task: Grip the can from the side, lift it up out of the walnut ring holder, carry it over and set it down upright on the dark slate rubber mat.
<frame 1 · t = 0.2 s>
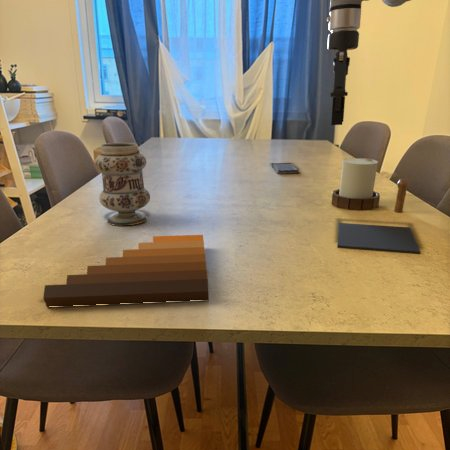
hand: (337, 123, 116), 20 cm above the table, tool pointing down, fingers open, 13 cm apart
pan flute: (136, 275, 78), on the table
mat: (375, 238, 94), on the table
apothecary jar: (127, 221, 107), on the table
can: (354, 204, 119), resting in holder
phone: (284, 170, 164), on the table
holder: (354, 204, 119), on the table
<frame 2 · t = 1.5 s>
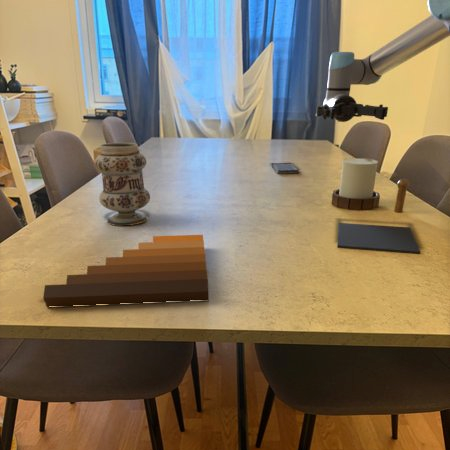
hand: (358, 114, 117), 22 cm above the table, tool horizontal, fingers open, 13 cm apart
nothing on the table moved.
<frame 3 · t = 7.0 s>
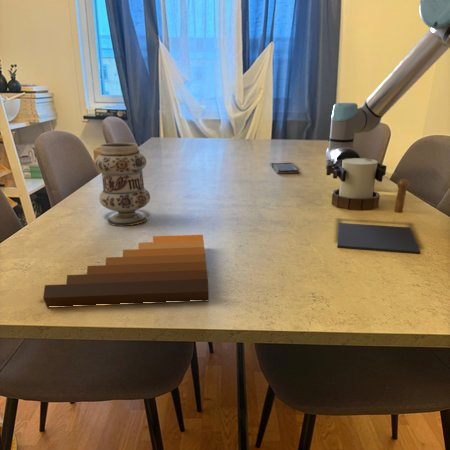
hand: (362, 176, 111), 9 cm above the table, tool horizontal, fingers closed on can, 9 cm apart
can: (354, 204, 119), resting in holder, touching gripper
everything else where it was.
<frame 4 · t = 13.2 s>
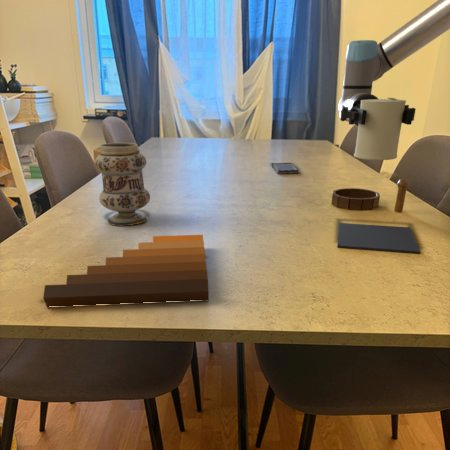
hand: (387, 117, 89), 24 cm above the table, tool horizontal, fingers closed on can, 9 cm apart
can: (374, 157, 97), point 15 cm above the table, touching gripper
everything else where it was.
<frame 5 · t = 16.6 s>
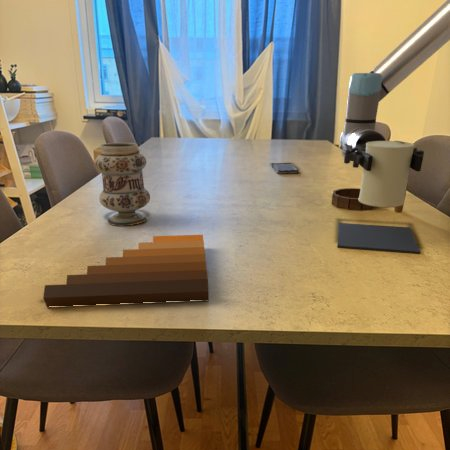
hand: (394, 163, 83), 17 cm above the table, tool horizontal, fingers closed on can, 9 cm apart
can: (380, 202, 91), point 8 cm above the table, touching gripper
everything else where it was.
when the fingers open (9 cm above the table, at t = 19.2 s): can stays where it is, resting on mat.
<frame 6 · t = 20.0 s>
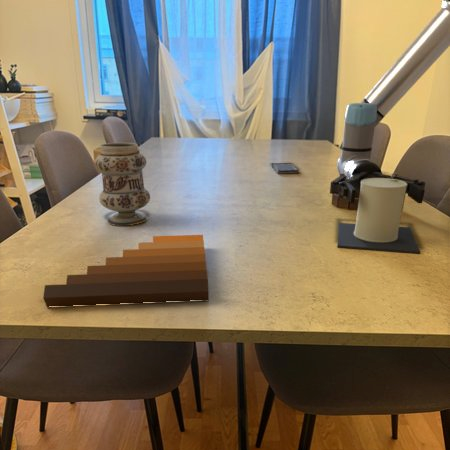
hand: (387, 196, 87), 10 cm above the table, tool horizontal, fingers open, 13 cm apart
can: (375, 236, 94), resting on mat
everything else where it was.
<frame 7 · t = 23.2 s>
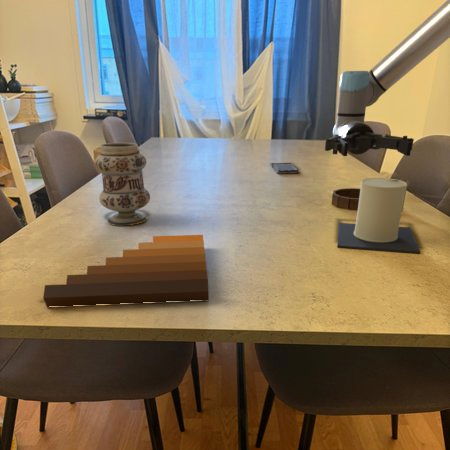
hand: (377, 149, 94), 17 cm above the table, tool horizontal, fingers open, 13 cm apart
nothing on the table moved.
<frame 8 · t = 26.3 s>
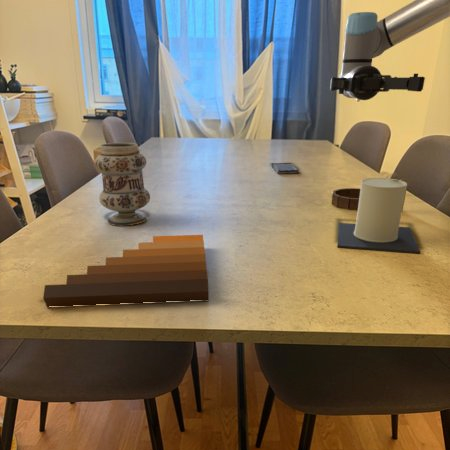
hand: (387, 84, 88), 30 cm above the table, tool horizontal, fingers open, 13 cm apart
nothing on the table moved.
at the end: can inside the target area on the mat (0.1 cm from its centre), point 0.3 cm above the mat's base; can tilted 0°; the gripper is holding nothing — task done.
